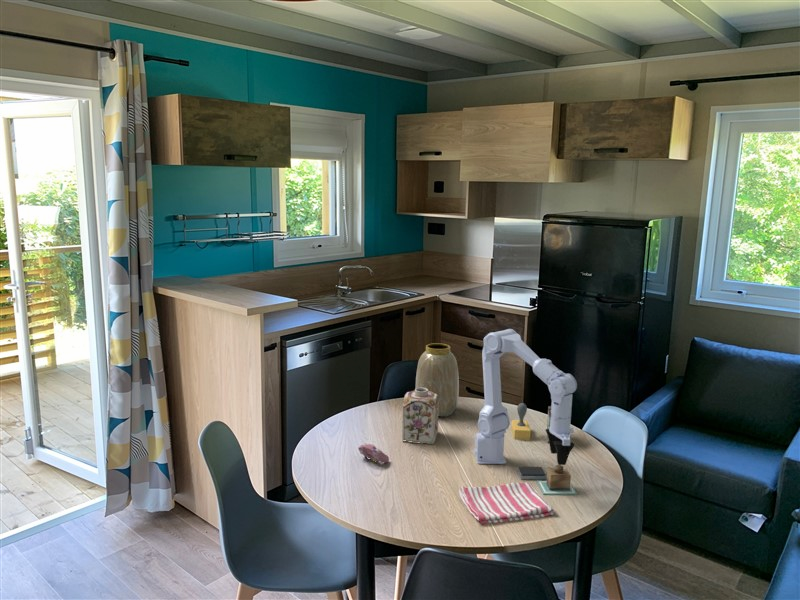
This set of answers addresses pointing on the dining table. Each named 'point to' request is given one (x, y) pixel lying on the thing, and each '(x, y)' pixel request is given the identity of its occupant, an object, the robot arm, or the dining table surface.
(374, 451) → the pink rounded piece
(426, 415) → the decorative jar
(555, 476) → the hand stamp
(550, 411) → the food container
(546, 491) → the marked card
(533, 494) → the dish towel
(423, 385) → the vase
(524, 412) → the rubber stamp
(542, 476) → the ink pad
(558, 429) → the robot arm
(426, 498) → the dining table surface
